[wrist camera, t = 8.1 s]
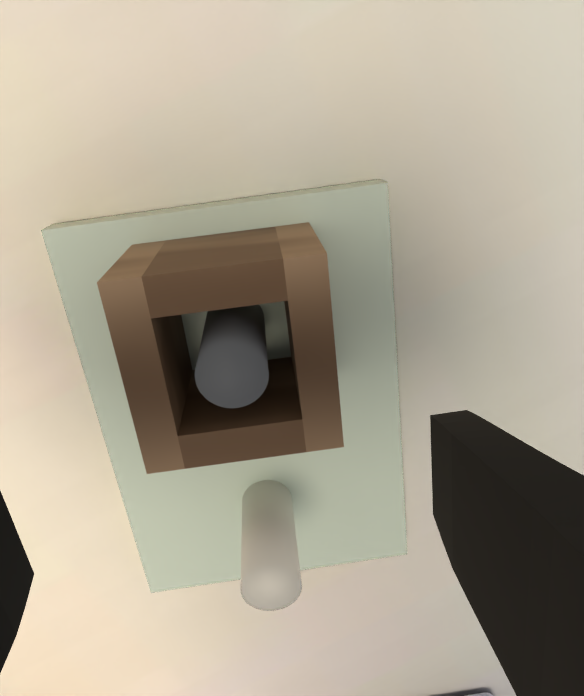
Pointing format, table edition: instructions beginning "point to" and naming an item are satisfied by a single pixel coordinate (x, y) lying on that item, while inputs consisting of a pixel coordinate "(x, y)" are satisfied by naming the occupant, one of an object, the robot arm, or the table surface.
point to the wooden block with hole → (173, 356)
